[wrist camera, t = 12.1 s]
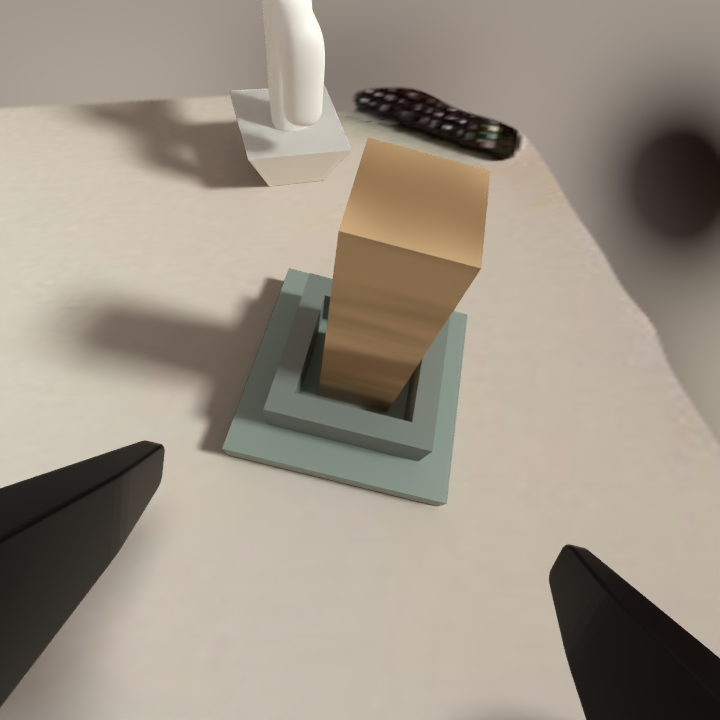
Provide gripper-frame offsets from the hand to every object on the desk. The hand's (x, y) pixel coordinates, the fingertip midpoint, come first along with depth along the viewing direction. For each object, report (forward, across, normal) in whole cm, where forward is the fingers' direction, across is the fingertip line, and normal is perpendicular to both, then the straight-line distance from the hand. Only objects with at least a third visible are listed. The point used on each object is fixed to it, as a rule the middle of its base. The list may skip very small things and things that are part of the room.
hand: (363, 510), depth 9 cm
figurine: (+28, +9, -8) cm, 31 cm away
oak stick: (+15, 0, +2) cm, 15 cm away
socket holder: (+16, 0, +4) cm, 16 cm away
